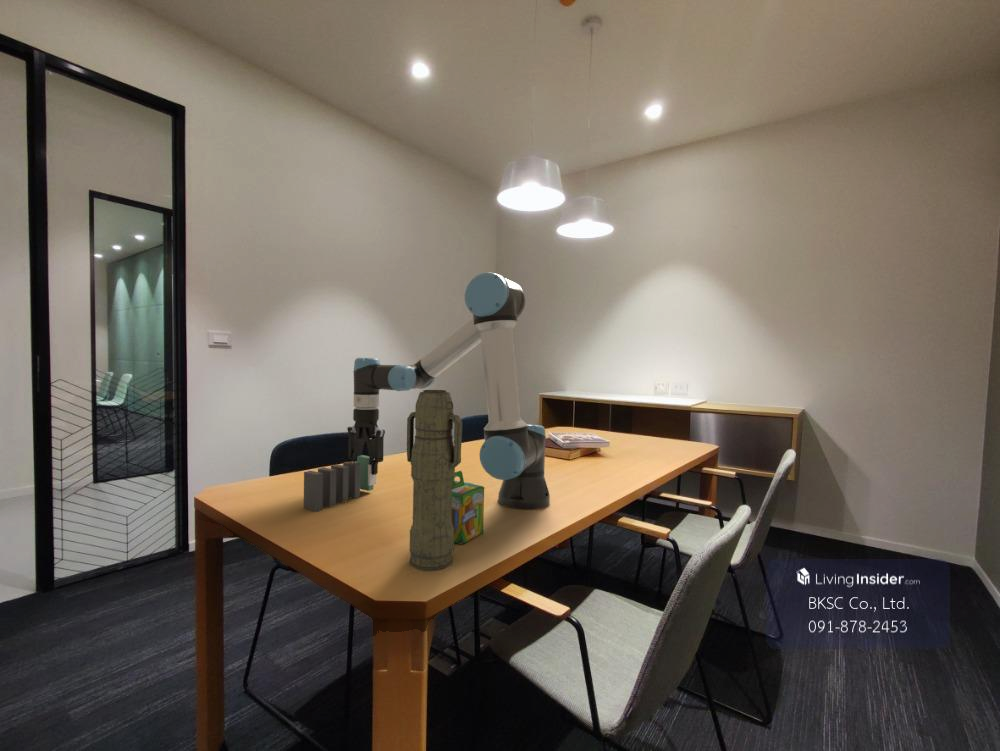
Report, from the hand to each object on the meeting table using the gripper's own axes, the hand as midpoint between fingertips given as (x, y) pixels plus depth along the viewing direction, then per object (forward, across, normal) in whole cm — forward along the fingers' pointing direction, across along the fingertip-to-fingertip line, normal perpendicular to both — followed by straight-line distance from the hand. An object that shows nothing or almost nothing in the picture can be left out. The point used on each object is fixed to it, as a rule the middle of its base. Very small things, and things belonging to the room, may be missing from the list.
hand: (365, 483), depth 138 cm
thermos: (+3, +46, -28) cm, 54 cm away
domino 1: (+3, 0, -19) cm, 19 cm away
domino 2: (+3, 0, -14) cm, 15 cm away
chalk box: (+3, +43, -13) cm, 45 cm away
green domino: (+2, 0, 0) cm, 2 cm away
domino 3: (+3, 0, -10) cm, 10 cm away
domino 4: (+3, 0, -6) cm, 6 cm away
